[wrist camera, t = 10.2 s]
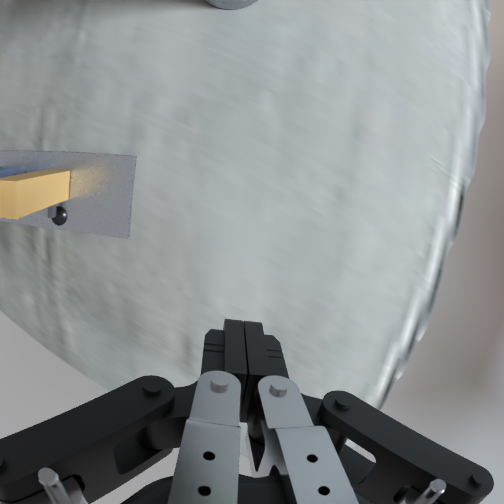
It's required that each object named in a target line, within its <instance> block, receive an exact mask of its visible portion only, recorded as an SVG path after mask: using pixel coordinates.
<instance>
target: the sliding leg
mask: <svg viewBox="0 0 504 504" xmlns="http://www.w3.org/2000/svg"><path fill="white" fill-rule="evenodd" d="M69 181H70V171H65V170H48V169H47V170H41V171H35V172H29V173H24V174H18V175H13V176H8V177H3V178H0V218H8V219H19V218H21V217H24V216H26V215H29V214H31V213H34V212H36V211H39V210H41V209H44V208H47V207H48V218H54V217H56V204H57V203H60V202H63V201H66V200H68V199H69Z"/></svg>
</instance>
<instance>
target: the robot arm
mask: <svg viewBox="0 0 504 504" xmlns="http://www.w3.org/2000/svg"><path fill="white" fill-rule="evenodd" d="M205 1H206V2H208V3H209V4H211V5H213V6H215V7H218V8H222V9H239V8H243V7H246V6H249V5H251V4H253V3H254V2H256V1H257V0H205ZM239 419H240V422H245V423H247V425H248V430H247V434H246V444H247V450H248V456H249V460H250V466H251V471H252V477H249V476H245V475H241V474H239V454H240V433H241V428H240V426H239ZM347 439H350V440H351V441H353V442H354V443H356V444H357V445H359V446H361V447H362V448H364V449H365V450H367V451H368V452H370V453H371V454H373V455H374V457H375V459H376V463H374V462H372V461H370V460H368V459H367V458H365V457H364V456H362V455H361V454H359V453H358V452H356V451H354V450H353V449H351V448H350V447H348V446H347V445H345V443H346V441H347ZM179 447H180V450H179V454H178V459H177V463H176V468H175V472H174V476H170V477H166V478H163V479H159V480H157V481H155V482H152V483H150V484H148V485H146V486H145V487H143V488H142V489H141V490H139V491H138V492H136V493H135V494H134V495H132V496H131V497H130V498H128V499H127V500H125V501H124V502H122V503H121V504H479V503H480V502H481V501H482V500H483V499H484V498H485V497H486V496H487V495H488V494H489V493H490V492H491V491H492V489H493V486H494V481H493V478H492V475H491V474H490V473H489V471H488V470H486V469H485V468H483V467H482V466H480V465H477V464H476V463H474V462H472V461H470V460H468V459H466V458H464V457H462V456H460V455H458V454H456V453H454V452H452V451H450V450H448V449H447V448H445V447H443V446H441V445H439V444H437V443H435V442H434V441H432V440H430V439H428V438H426V437H424V436H423V435H421V434H419V433H417V432H415V431H414V430H412V429H410V428H408V427H407V426H405V425H403V424H401V423H400V422H398V421H396V420H394V419H393V418H391V417H389V416H388V415H386V414H384V413H382V412H381V411H379V410H377V409H376V408H374V407H372V406H371V405H369V404H367V403H366V402H364V401H362V400H361V399H359V398H357V397H356V396H354V395H352V394H350V393H348V392H345V391H331V392H329V393H327V394H326V395H325V396H324V398H323V400H322V399H318V398H314V397H310V396H306V395H304V394H302V393H300V390H299V388H298V386H297V385H296V383H294V382H293V381H292V380H290V379H289V376H288V372H287V368H286V364H285V360H284V356H283V353H282V349H281V345H280V342H279V341H278V340H277V339H276V338H275V337H274V336H273V335H264V332H263V326H262V323H260V322H251V321H244V322H243V321H241V320H232V319H225V321H224V328H223V330H215V329H211V330H210V331H209V332H208V333H207V334H206V335H205V340H204V349H203V358H202V368H201V375H200V377H199V379H198V380H197V381H196V382H195V383H193V384H191V385H189V386H185V387H176V388H174V386H173V385H172V384H171V382H169V381H168V380H166V379H164V378H162V377H159V376H152V375H151V376H143V377H140V378H137V379H135V380H133V381H131V382H129V383H127V384H125V385H123V386H121V387H119V388H117V389H114V390H112V391H110V392H108V393H106V394H104V395H102V396H100V397H98V398H95V399H93V400H91V401H89V402H87V403H84V404H82V405H80V406H78V407H76V408H73V409H71V410H69V411H67V412H64V413H62V414H60V415H57V416H55V417H53V418H51V419H48V420H46V421H44V422H41V423H39V424H36V425H34V426H32V427H29V428H27V429H24V430H22V431H20V432H17V433H15V434H12V435H10V436H7V437H5V438H2V439H0V504H91V503H92V502H94V501H96V500H98V499H99V498H101V497H102V496H104V495H106V494H108V493H109V492H111V491H113V490H115V489H116V488H118V487H119V486H121V485H123V484H124V483H126V482H128V481H129V480H130V479H132V478H134V477H135V476H137V475H138V474H140V473H142V472H143V471H145V470H146V469H148V468H149V467H151V466H152V465H154V464H155V463H157V462H158V461H160V460H161V459H163V458H164V457H166V456H167V455H169V454H170V453H171V452H172V450H173V448H179Z"/></svg>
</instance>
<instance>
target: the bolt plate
mask: <svg viewBox="0 0 504 504" xmlns="http://www.w3.org/2000/svg"><path fill="white" fill-rule="evenodd" d="M136 157H137V156H124V155H111V154H95V153H76V152H48V151H0V168H15V170H14V175H18V174H24V173H29V172H35V171H41V170H47V169H48V170H65V171H70V181H69V199H68V200H66V201H63V202H60V203H57V204H56V217H54V218H48V207H47V208H44V209H41V210H39V211H36V212H34V213H31V214H29V215H26V216H24V217H21V218H19V219H8V218H0V221H1V222H9V223H16V224H23V225H31V226H38V227H45V228H53V229H60V230H67V231H75V232H82V233H90V234H97V235H105V236H112V237H119V238H127V239H128V238H129V237H130V221H131V207H132V195H133V185H134V175H135V166H136Z"/></svg>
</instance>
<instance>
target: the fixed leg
mask: <svg viewBox="0 0 504 504" xmlns="http://www.w3.org/2000/svg"><path fill="white" fill-rule="evenodd" d="M14 170H15V168H0V178H3V177H8V176H13V175H14Z"/></svg>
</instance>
